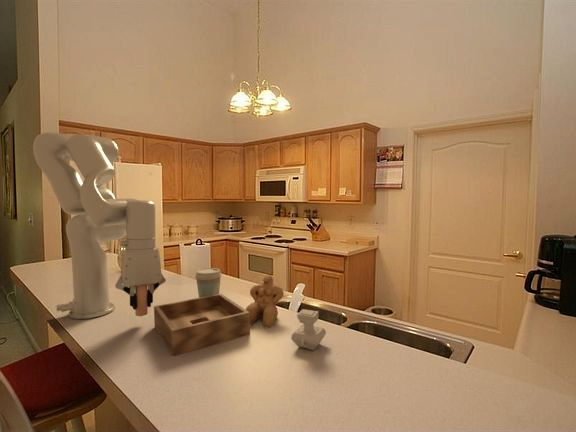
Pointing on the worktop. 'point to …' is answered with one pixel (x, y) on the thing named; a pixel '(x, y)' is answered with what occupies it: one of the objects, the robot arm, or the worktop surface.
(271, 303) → the figurine
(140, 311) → the peg
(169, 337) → the bore box
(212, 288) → the coffee cup
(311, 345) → the stamp
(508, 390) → the worktop surface
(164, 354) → the worktop surface
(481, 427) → the worktop surface
